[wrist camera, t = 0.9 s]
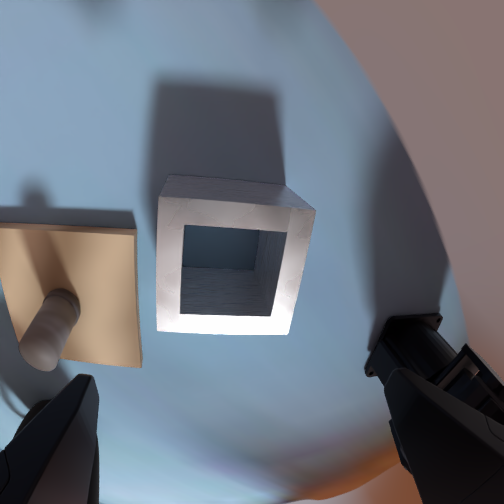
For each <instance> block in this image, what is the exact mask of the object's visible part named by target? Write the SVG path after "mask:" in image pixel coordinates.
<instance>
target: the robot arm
mask: <svg viewBox="0 0 504 504" xmlns="http://www.w3.org/2000/svg"><path fill="white" fill-rule="evenodd" d="M442 319H443V317H442V316H441V315H440V314H439V313H436V314H423V315H408V316H393V317H390V318H389V319H388V320H387V322H386V325H385V327H384V329H383V332H382V334H381V337H380V339H379V341H378V344H377V346H376V348H375V350H374V353H373V355H372V357H371V359H370V361H369V364H368V366H367V368H366V370H365V374H366V376H367V377H374V376H378V378H379V379H380V381H381V382H382V384H383V385H384V393H385V397H386V400H387V404H388V407H389V410H390V414H391V417H392V419H391V420H389V424H390V427H391V432H392V435H393V438H394V441H395V444H396V448H397V451H398V454H399V458H400V461H401V464H402V465H403V466H404V468H405V469H406V470H408V471H409V472H410V473H411V474H412V475H413V478H414V480H415V483H416V485H417V489H418V491H419V494H420V497H421V500H422V503H423V504H504V382H503V381H502V379H501V378H500V377H499V375H498V374H497V373H496V372H495V371H494V370H493V369H492V367H490V365H489V364H488V363H487V362H486V361H485V360H484V359H483V358H482V357H481V356H480V355H479V354H477V353H476V352H475V351H474V350H473V349H472V348H471V347H470V346H468V345H467V344H466V343H465V345H464V346H463V347H462V348H461V349H462V350H461V351H460V352H459V353H458V354H457V353H456V351H455V350H454V349H453V348H452V347H451V346H450V345H449V344H448V343H447V342H446V341H445V339H444V338H443V337H442V336H441V335H440V334H439V333H438V332H437V330H438V328H439V326H440V323H441V321H442ZM478 370H480V371H479V372H478V373H477V374H476V375H475V373H476V372H477V371H478ZM98 408H99V394H98V390H97V387H96V383H95V380H94V377H93V376H92V375H88V374H78V375H77V376H76V377H75V378H74V379H73V380H71V381H70V382H69V383H68V384H67V385H66V386H65V387H64V388H63V389H62V390H61V391H60V392H59V393H58V394H57V395H56V396H55V397H54V398H53V399H52V400H51V401H50V402H49V403H48V404H47V405H46V406H45V407H44V408H43V409H42V410H41V411H40V412H39V413H38V414H37V415H36V416H35V417H34V418H33V419H32V420H31V421H30V422H29V423H28V424H27V425H26V426H25V427H24V428H23V429H22V430H21V431H20V432H19V434H18V435H17V436H16V437H15V438H14V439H13V440H12V441H11V442H10V443H9V444H8V445H7V446H6V447H5V450H2V451H1V452H0V504H87V497H88V490H89V483H90V477H91V471H92V465H93V459H94V453H95V446H96V432H97V419H98Z"/></svg>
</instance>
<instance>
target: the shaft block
mask: <svg viewBox="0 0 504 504" xmlns="http://www.w3.org/2000/svg"><path fill="white" fill-rule="evenodd" d="M0 278H1V282H2V287H3V291H4V295H5V299H6V303H7V306H8V310H9V314H10V317H11V320H12V324H13V327H14V330H15V333H16V336H17V339H18V342H19V351H20V354H21V355H22V357H23V358H24V360H25V361H26V362H27V363H28V364H30V365H31V366H32V367H34V368H36V369H38V370H41V371H51V370H53V369H55V367H56V365H57V363H58V360H59V358H60V359H67V360H74V361H81V362H88V363H96V364H105V365H114V366H124V367H135V368H141V367H142V360H143V357H142V346H141V334H140V319H139V301H138V274H137V229H123V228H106V227H87V226H68V225H47V224H26V223H2V222H0Z"/></svg>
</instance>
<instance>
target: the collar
mask: <svg viewBox="0 0 504 504" xmlns="http://www.w3.org/2000/svg"><path fill="white" fill-rule="evenodd" d="M315 214H316V210H315V209H314V208H313V207H311V206H310V205H309V204H308V203H307V202H306V201H304V200H303V199H302V198H301V197H299V196H298V195H297V194H296V193H295V192H293V191H292V190H291V189H290V188H288V187H287V186H286V185H278V184H270V183H261V182H252V181H242V180H232V179H221V178H209V177H197V176H183V175H169V176H168V178H167V180H166V182H165V184H164V186H163V189H162V191H161V193H160V195H159V200H158V221H157V255H156V306H157V331H166V332H185V333H211V334H288V331H289V328H290V324H291V320H292V316H293V312H294V307H295V303H296V299H297V295H298V291H299V287H300V282H301V278H302V274H303V269H304V265H305V260H306V256H307V251H308V247H309V242H310V238H311V233H312V228H313V223H314V219H315ZM185 225H199V226H214V227H227V228H241V229H254V230H260V234H259V240H258V246H257V253H256V259H255V265H254V270H238V269H220V268H202V267H185V266H183V248H184V232H185Z"/></svg>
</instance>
